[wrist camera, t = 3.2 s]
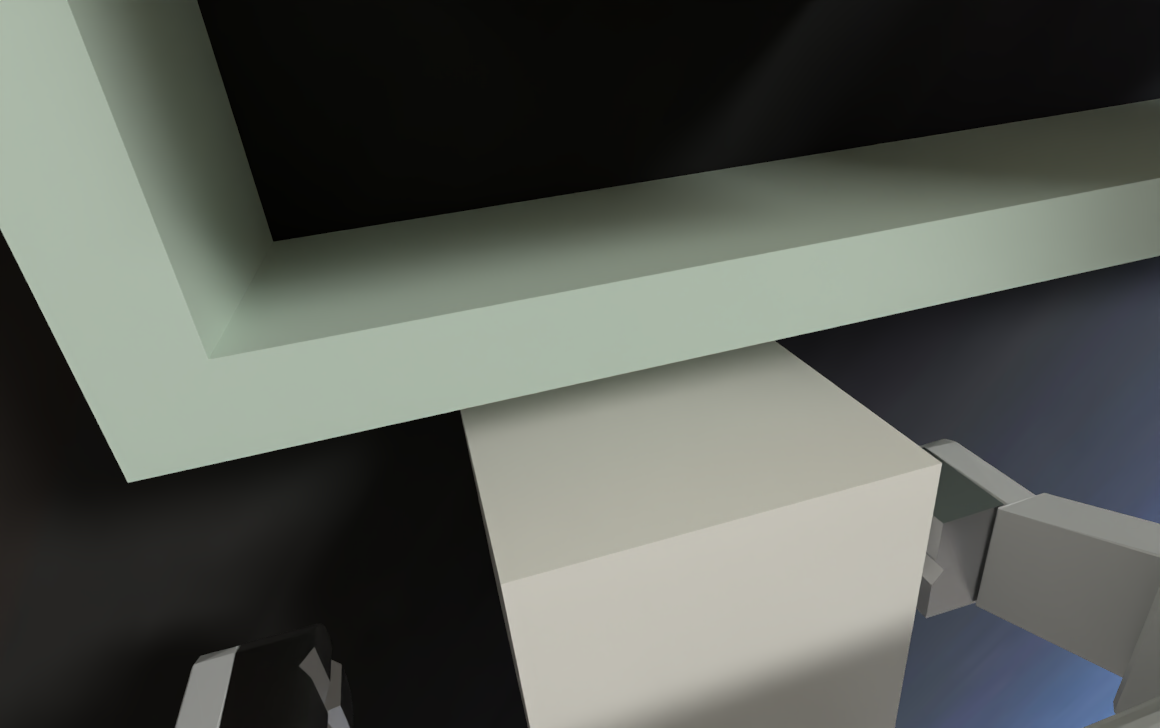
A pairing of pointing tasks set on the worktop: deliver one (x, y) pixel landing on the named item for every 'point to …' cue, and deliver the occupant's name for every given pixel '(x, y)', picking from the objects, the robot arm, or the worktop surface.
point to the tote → (478, 250)
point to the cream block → (704, 546)
